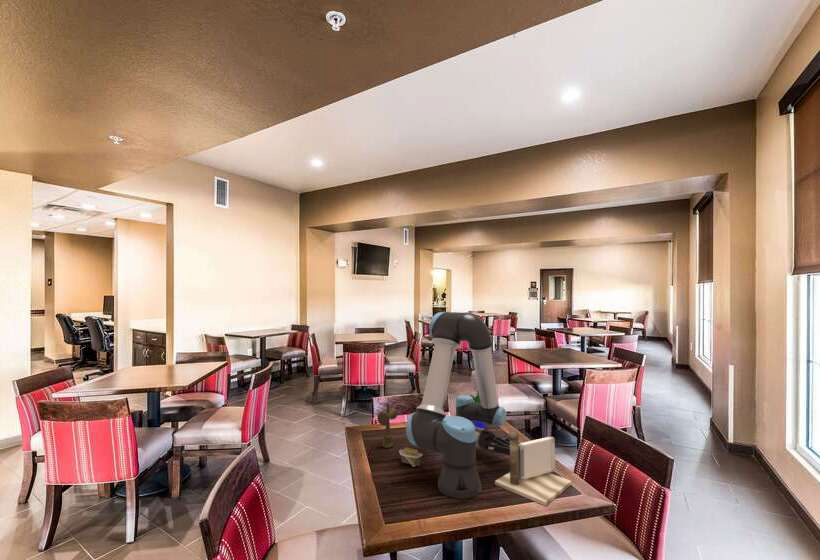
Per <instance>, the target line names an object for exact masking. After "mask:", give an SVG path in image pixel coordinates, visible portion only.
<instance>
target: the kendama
mask: <svg viewBox="0 0 820 560" xmlns="http://www.w3.org/2000/svg"><path fill="white" fill-rule="evenodd" d="M389 403H390V402H389V401H387V402H386V411H380V412H379V413H378V414H377V419H376V420H377V422H378V424H379V425H380V426H385V428H384V434H383V435H382V438H383V442H382V444H381V447H383V448H385V449H390V448H393V447H394V443H393V441H392V439H393V434H392V433H391V425H390V424H391V423H390V421H391V420H395V419H397V417H398V411H397V409H396V408H395V407H391V406H389Z"/></svg>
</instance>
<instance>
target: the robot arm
mask: <svg viewBox="0 0 820 560" xmlns="http://www.w3.org/2000/svg"><path fill="white" fill-rule="evenodd" d="M428 330H429V334H430V335H429V336H431V338H432V339H431V341H432V343H433V344H434V346H433V351H432V357H431V360H430V364H429V368H428V369H429V370H428V373H427V378H426V383H425V387H424V392H423V397H422V400H421V404H420V405H418V406H417V407H416V408H415V412H412V413H411V414H410V415H409V417H408V418H407V421H406V424H405V434H406V437H407V440H408V442H409V443H410V444H411V445H413V446H415V447H418V448H419V449H424V450H426V451H427V450H428V451H431V452H433V453H438V454H441V455H442V466H441V469H440V472H439V475H438V480H437V487H438V488H437V489H438V490H439V492H440V493H441V494H442V495H444V496H447V497H449V498H454V499H461V500H462V499H464V500H465V499H471V498H475V497H477V496H478V495H479V494H480V493H481V492H482V481H481V479H480V475H479V472H478V469H477V448H481V449H482V450H485V451H488V452H494V453H498V454H503V455H505V456H510V438H509V436H503V438H501V437H500V436H496V435H495V433H494V432H493V431H491V430H487V429H486V428H485V429H482V428H479V427H475V426H474V424H473V421H477V422H482V423H486V424H488V425H491V426H497V427H502V426H504V424H505V423H506V421H507V411H506V409H505V408H504V407H502V406H500V404H499V397H498V391H497V384H496V383H497V382H496V378H495V377H496V376H495V371H494V370H495V368H494V362H493V355H492V347H493V337H492V335H491V332H490V329H489V328H488V326H487V325H486V323H485V321H484V320H482V318H480V316H478V315H476V314H475V313H472V312H459V311H458V312H455V311H440V312H437V313H435V314H434V315H433V316H432V318H431V320H430V322H429V327H428ZM461 342H466V343H467V344H468V349H469V350H471V353H472V358H473V365H474V366H473V367H474V370H475V373H476V379H477V385H478V391H479V398H480V403H475V402H474V400H473V398H472V397H471V396H470V395H468V394H467V395H466V394H462V395H457V396H456V399H455V406H454V407H455V415H447V414H446V411H444V408H445V407H444V406H445V403H446V397H447V393H448V392H447V391H448V387H449V381H450V377H451V371H452V368H453V362H454V357H455V353H456V352H455V351H456V350H457V349H459V348H460V345H461ZM519 443H520V442H519V441H518V444H519Z"/></svg>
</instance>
